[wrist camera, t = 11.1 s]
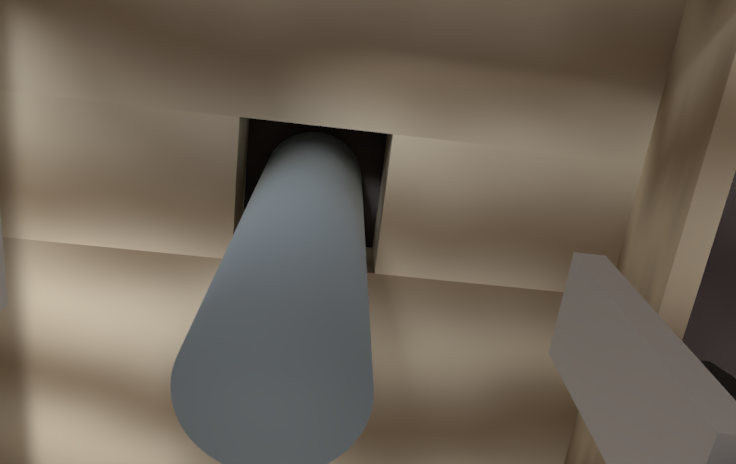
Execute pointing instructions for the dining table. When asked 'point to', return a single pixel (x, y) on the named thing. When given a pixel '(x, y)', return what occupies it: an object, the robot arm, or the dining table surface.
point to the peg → (285, 319)
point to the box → (395, 205)
